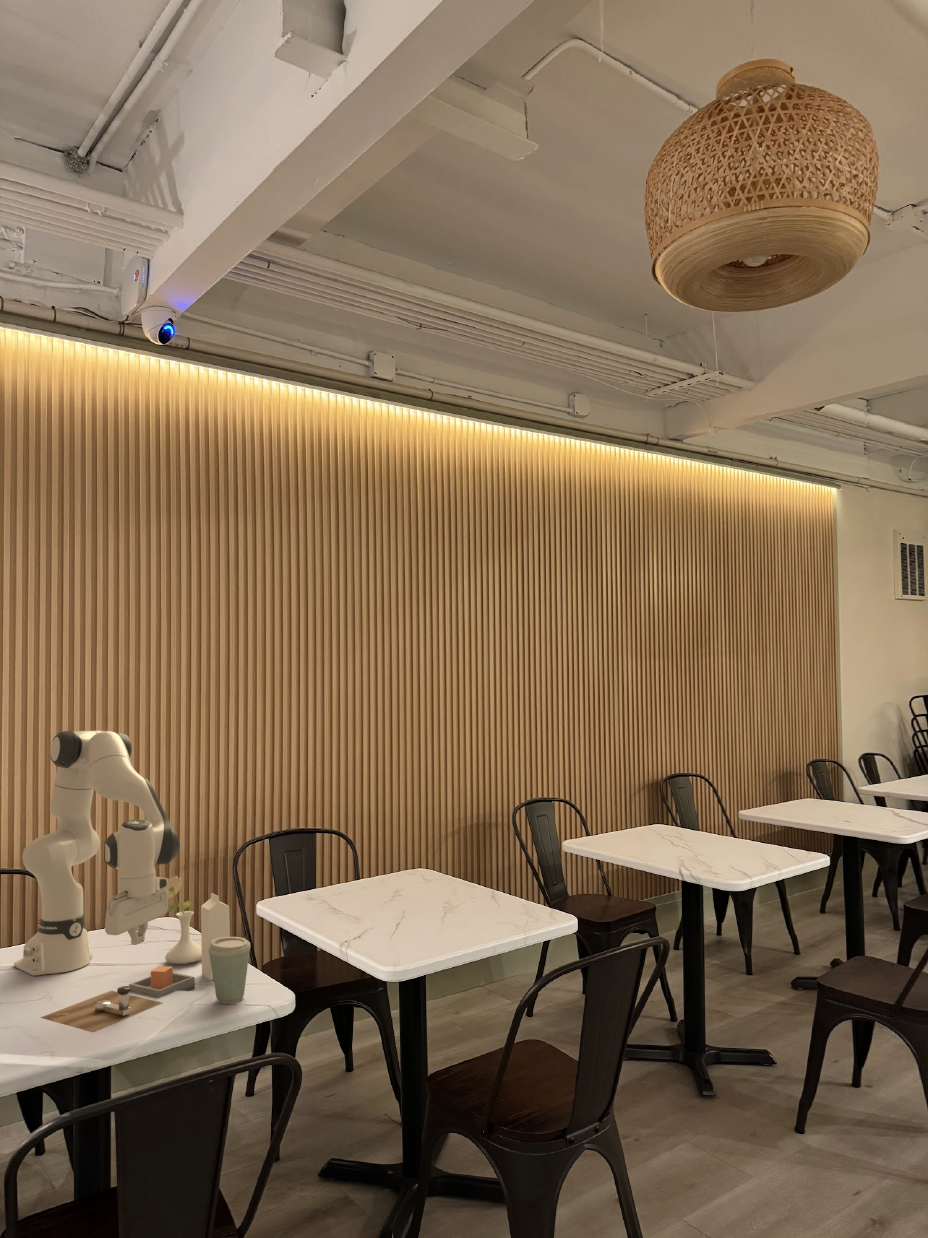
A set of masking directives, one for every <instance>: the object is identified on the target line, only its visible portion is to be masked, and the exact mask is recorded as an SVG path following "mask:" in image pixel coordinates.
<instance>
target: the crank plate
mask: <svg viewBox="0 0 928 1238" xmlns="http://www.w3.org/2000/svg"><path fill="white" fill-rule="evenodd" d="M103 1000H109V1001H111V1003H113V1004H117V1005H119V994H118V993H117V991H115V990H110V991H106V992H104V993H101V994H99V995H96V996H94V997H90V998H88V999H85V1000H82V1001H79V1002H77V1003H75V1004H72V1005H69V1006H66V1007H63V1008H62V1009H59V1010H56V1011H54V1012H51V1013H47V1014H46V1015H43V1016H41V1017H40V1019H43V1020H44V1019H45V1020H47V1021H52V1022H55V1023H57V1024H58V1023H59V1024H62V1025H67V1026H69V1027H74V1028H76V1029H80V1030H84V1031H87V1032H91V1033H94V1032H97V1031H99V1030H102V1029H104V1028H106V1027H110V1026H112V1025H114V1024H117V1023H119V1022H122V1021H123V1020H126V1019H128V1018H130V1017H134V1016H135V1015H138V1014H140V1013H142V1012H143V1013H144V1012H145V1011H147V1010H149V1009H152V1008H154V1007H157V1006H159V1005H162V1004H163V1002H162V1001H157V1000H155V999H154V1000H153V999H149V998H145V997H141V996H137V995H136V996H135V995H133V994H132V995H131V994H129V1008H130V1013H129V1014H127V1015H124V1016H122V1015H118V1014H114V1013H110V1012H106V1011H95V1003H96V1002H99V1001H103Z"/></svg>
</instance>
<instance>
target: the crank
mask: <svg viewBox="0 0 928 1238" xmlns="http://www.w3.org/2000/svg"><path fill="white" fill-rule="evenodd" d="M116 989H117V991H116V992H117V993H118V994H119V1005H117V1004H113V1003H111V1001H109V1000H103V1001H99V1002H96V1003H95V1011H106V1012H110V1013H114V1014H118V1015H122V1016H124V1015H127V1014H129V1013H130V1008H129V995H130V993H131V992H132V991H131V987H130V986H129V985H125V986H120V987H118V988H116Z"/></svg>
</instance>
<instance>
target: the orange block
mask: <svg viewBox="0 0 928 1238" xmlns="http://www.w3.org/2000/svg"><path fill="white" fill-rule="evenodd" d="M173 973H174V967H173V966H167V965H166V966H163V965H162V966H161V965H158V966H157V967H155V968H153V969H152V970H151V971H150V976H151V988H154V989H159V990H160V989H162V988H165V987H167V986H170V985H172V984H173Z"/></svg>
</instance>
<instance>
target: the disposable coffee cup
mask: <svg viewBox="0 0 928 1238" xmlns="http://www.w3.org/2000/svg"><path fill="white" fill-rule="evenodd" d="M250 949H251V942H250V941H249V940H248V939H246V938H245V937H239V936H230V937H221V938H216V939H214V940H212V941H211V945H210V947H209V951H208V953H209V955H210V961H211V967H212V973H213V984H214V991H215V996H216V999H217V1002H218V1003H219V1004H224V1005H230V1004H231V1005H232V1004H235V1003H239V1002H241V1001H242V1000H243V999H244V995H245V989H246V982H247V974H248V966H249V958H250V957H249V956H250V952H251V951H250Z"/></svg>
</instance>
